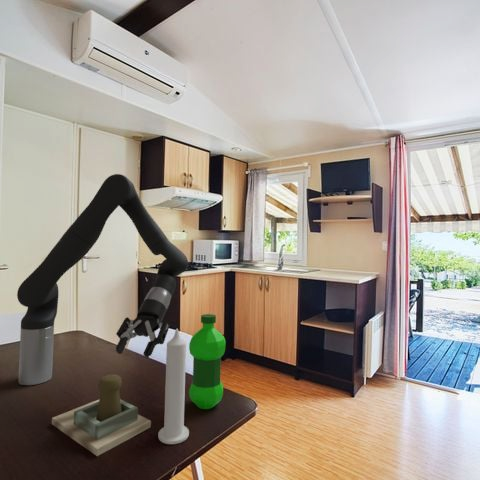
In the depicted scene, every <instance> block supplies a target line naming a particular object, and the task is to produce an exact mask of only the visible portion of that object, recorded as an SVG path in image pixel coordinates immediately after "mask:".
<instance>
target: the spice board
mask: <svg viewBox="0 0 480 480" xmlns="http://www.w3.org/2000/svg"><path fill="white" fill-rule="evenodd" d="M99 400H100V398H99V399H97V400H93V401H91V402H89V403H86V404H83V405H81V406H79V407H76V408H73V409H72V410H69V411H66V412H63V413H61V414H58V415H56V416H53V417H51V425H53V427H55V428H57V429H58V430H59V431H60V432H62V433H63V434H65V435H66V436H68V437H69V438H70V439H72V440H73V441H74V442H76V443H77V444H79V445H80V446H81V447H84V448H85V449H86V450H88V451H89V452H91V454H93V455H95V456H96V457H99V456H100V455H103V454H104V453H106V452H108V451H110V450H112V449H113V448H115V447H117V446H119V445H120V444H122V443H125V442H126V441H128V440H131V439H132V438H134V437H135V436H137V435H139V434H140V433H143V432H144V431H146V430H149V429H150V428H151V427H152V426H151V425H152V421H151V419H148V418H147V417H144V416H142V415H140V414H139V408H138V406H135V405H133V404H131V403H129V402H127V401H125V400H123V399H122V398H120V404H121V413H119V414H117V415H115V416H113V417H111V418H108V419H106V420H104V421H102V422H99V421H98V420H96V417H97V411H98V405H99Z"/></svg>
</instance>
